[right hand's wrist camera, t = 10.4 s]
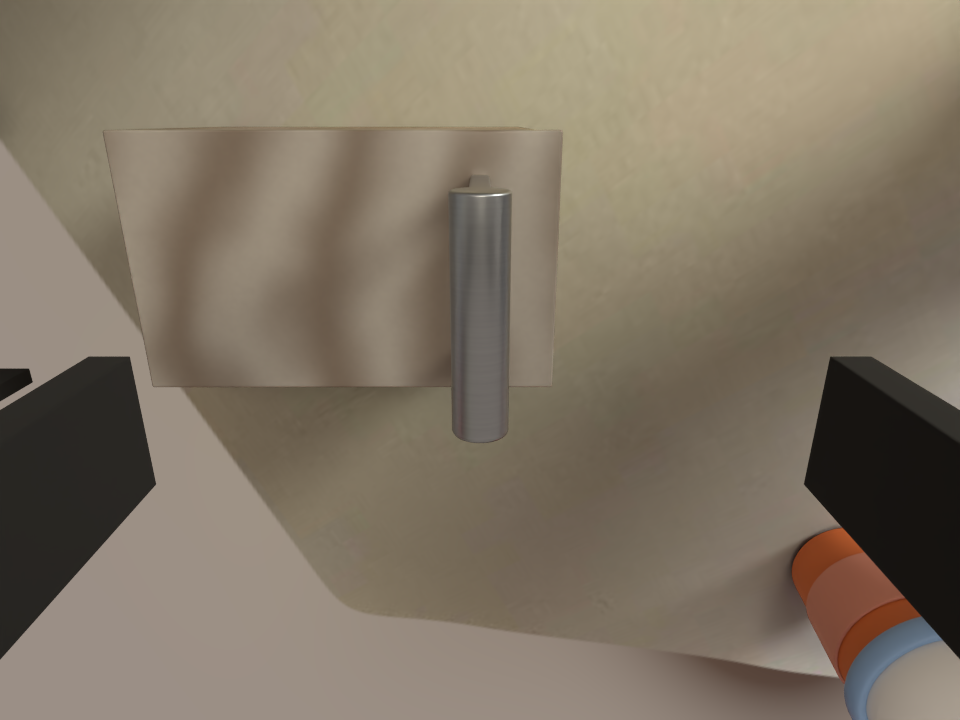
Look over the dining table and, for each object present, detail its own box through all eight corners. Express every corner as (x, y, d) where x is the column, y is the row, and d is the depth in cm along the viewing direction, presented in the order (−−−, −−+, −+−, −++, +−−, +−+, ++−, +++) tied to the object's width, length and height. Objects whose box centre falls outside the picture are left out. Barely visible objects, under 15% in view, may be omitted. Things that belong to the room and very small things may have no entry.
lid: (560, 129, 24) (601, 134, 16) (549, 379, 28) (579, 485, 20) (114, 129, 24) (-69, 134, 16) (162, 379, 28) (32, 485, 20)
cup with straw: (770, 625, 45) (942, 925, 28) (766, 519, 42) (957, 784, 25) (901, 606, 45) (1157, 901, 28) (908, 497, 42) (1200, 754, 25)
